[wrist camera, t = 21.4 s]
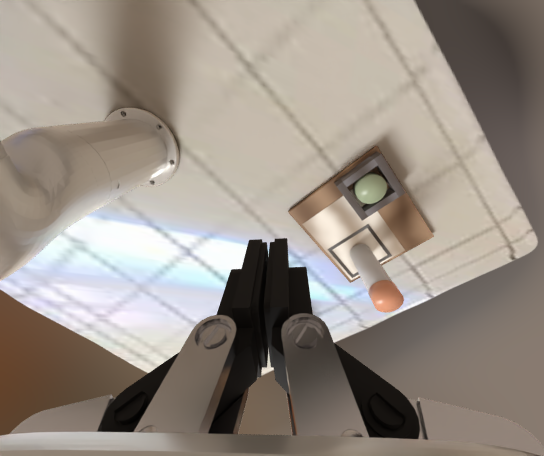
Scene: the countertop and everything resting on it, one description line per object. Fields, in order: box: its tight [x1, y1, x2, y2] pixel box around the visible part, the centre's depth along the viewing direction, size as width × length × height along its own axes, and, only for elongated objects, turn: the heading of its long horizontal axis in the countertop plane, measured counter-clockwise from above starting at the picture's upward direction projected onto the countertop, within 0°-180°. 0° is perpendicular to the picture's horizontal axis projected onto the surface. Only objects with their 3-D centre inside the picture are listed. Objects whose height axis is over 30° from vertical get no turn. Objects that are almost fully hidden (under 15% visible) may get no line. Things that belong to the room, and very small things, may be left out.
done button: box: [353, 172, 387, 204], centre depth 39 cm, size 5×5×2 cm
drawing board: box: [288, 146, 434, 283], centre depth 43 cm, size 18×21×3 cm
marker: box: [350, 244, 404, 312], centre depth 41 cm, size 4×4×13 cm
